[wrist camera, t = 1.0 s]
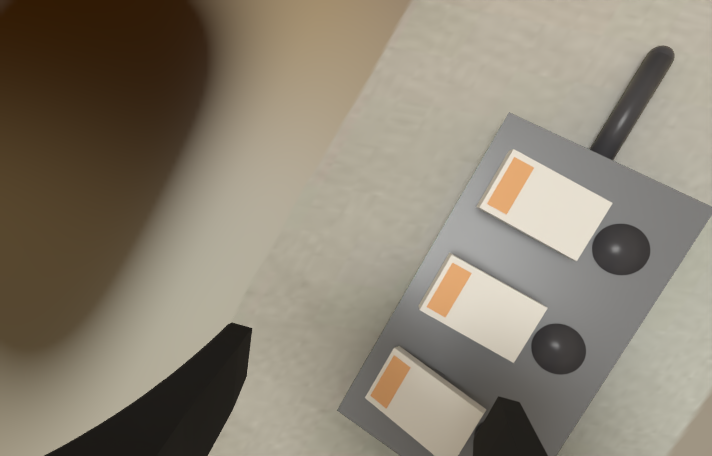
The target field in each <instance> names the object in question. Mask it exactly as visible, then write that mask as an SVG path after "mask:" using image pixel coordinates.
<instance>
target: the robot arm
mask: <svg viewBox="0 0 712 456" xmlns="http://www.w3.org/2000/svg"><path fill="white" fill-rule="evenodd" d="M251 334H252V328H249V327H246V326H242V325H239V324H235V323H230V324H228V325H227V326H226V327H225V328H224V329H223V330H222V331H221V332H220V333H219V334H218V335H217V336H215V338H213V339H212V340H211V341H210V342H209V343H208V344H207V345H206V346H204V347H203V348H202V349H201V350H200V351H199V352H198V353H196V354H195V355H194V356H193V357H192V358H191V359H189V360H188V361H187V362H186V363H185V364H183V365H182V366H181V367H180V368H179V369H177V370H176V371H175V372H174V373H172V374H171V375H170V376H169V377H167V378H166V379H165V380H163V381H162V382H161V383H159V384H158V385H157V386H155V387H154V388H153V389H151V390H150V391H149V392H147V393H146V394H145V395H143V396H142V397H140V398H139V399H138V400H136V401H135V402H133V403H132V404H130V405H129V406H127V407H126V408H124V409H123V410H121V411H120V412H118V413H117V414H116V415H114V416H112V417H111V418H109V419H107V420H106V421H104V422H103V423H101V424H99V425H98V426H96V427H94V428H93V429H91V430H89V431H88V432H86V433H84V434H83V435H81V436H79V437H78V438H76V439H74V440H72V441H71V442H69V443H67V444H65V445H63V446H62V447H60V448H58V449H56V450H54V451H52V452H50V453H49V454H46V455H45V456H208V454H209V452H210V450H211V449H212V447H213V445H214V443H215V441H216V439H217V438H218V436H219V434H220V432H221V430H222V429H223V427H224V425H225V423H226V421H227V419H228V417H229V416H230V414H231V412H232V410H233V408H234V405H235V403H236V401H237V398H238V396H239V394H240V391H241V389H242V386H243V384H244V381H245V379H246V377H247V368H248V359H249V351H250V342H251ZM473 456H548V455H547V453H546V451H545V449H544V447H543V445H542V443H541V442H540V440H539V438H538V436H537V434H536V432H535V430H534V428H533V426H532V424H531V422H530V421H529V419H528V417H527V415H526V413H525V411H524V409H523V407H522V405H521V404H520V402H518V401H514V400H510V399H507V398H503V397H499V396H498V398H497V399H496V401H495V403H494V405H493V406H492V408H491V410H490V412H489V413H488V415H487V417H486V419H485V420H484V422H483V424H482V426H481V428H480V429H479V431H478V433H477V435H476V436H475V438H474V440H473Z"/></svg>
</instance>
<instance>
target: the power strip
mask: <svg viewBox="0 0 712 456" xmlns="http://www.w3.org/2000/svg"><path fill="white" fill-rule="evenodd" d="M673 61H674V51H673V50H672V49H671V48H670V47H668V46H658V47H655V48H653V49H652V50H651V51H650V52H649V53H648V54H647V56H646V57H645V59H644V61H643V62H642V64H641V66H640V67H639V69H638V71H637V72H636V74H635V76H634V77H633V79H632V81H631V82H630V84H629V86H628V87H627V89H626V91H625V92H624V94H623V96H622V97H621V99H620V101H619V102H618V104H617V105H616V107H615V109H614V110H613V112H612V114H611V115H610V117H609V119H608V120H607V122H606V124H605V125H604V127H603V129H602V130H601V132H600V134H599V135H598V137H597V139H596V140H595V142H594V144H593V145H592V147H591V149H590V150H589V149H587V148H585V147H583V146H581V145H578V144H576V143H574V142H572V141H570V140H568V139H565V138H563V137H561V136H559V135H557V134H555V133H553V132H550V131H548V130H546V129H544V128H542V127H540V126H538V125H535V124H533V123H531V122H529V121H527V120H525V119H523V118H520V117H518V116H516V115H514V114H512V113H510V112H509V113H508V115H507V117H506V119H505V120H504V122H503V124H502V125H501V127H500V129H499V131H498V132H497V134H496V136H495V138H494V139H493V141H492V143H491V145H490V146H489V148H488V150H487V151H486V153H485V155H484V157H483V158H482V160H481V162H480V164H479V165H478V167H477V169H476V170H475V172H474V174H473V176H472V177H471V179H470V181H469V183H468V184H467V186H466V188H465V190H464V191H463V193H462V195H461V196H460V198H459V200H458V202H457V203H456V205H455V207H454V209H453V210H452V212H451V214H450V216H449V217H448V219H447V221H446V222H445V224H444V226H443V228H442V229H441V231H440V233H439V235H438V236H437V238H436V240H435V241H434V243H433V245H432V247H431V248H430V250H429V252H428V254H427V255H426V257H425V259H424V261H423V262H422V264H421V266H420V267H419V269H418V271H417V273H416V274H415V276H414V278H413V280H412V281H411V283H410V285H409V287H408V288H407V290H406V292H405V293H404V295H403V297H402V299H401V300H400V302H399V304H398V306H397V307H396V309H395V311H394V312H393V314H392V316H391V318H390V319H389V321H388V323H387V325H386V326H385V328H384V330H383V332H382V333H381V335H380V337H379V338H378V340H377V342H376V344H375V345H374V347H373V349H372V351H371V352H370V354H369V356H368V358H367V359H366V361H365V363H364V364H363V366H362V368H361V370H360V371H359V373H358V375H357V377H356V378H355V380H354V382H353V383H352V385H351V387H350V389H349V390H348V392H347V394H346V396H345V397H344V399H343V401H342V403H341V404H340V406H339V408H338V409H337V411H338V412H340V413H341V414H343V415H344V416H345V417H347V418H348V419H350V420H351V421H352V422H354V423H355V424H357V425H358V426H359V427H361V428H362V429H364V430H365V431H366V432H368V433H369V434H371V435H372V436H373V437H375V438H376V439H378V440H379V441H380V442H382V443H383V444H385V445H386V446H387V447H389V448H390V449H392V450H393V451H394V452H396V453H397V454H399V455H400V456H434V455H433V454H432V453H431V452H430V451H428V450H427V449H426V448H425V447H424V446H422V445H421V444H420V443H419V442H418V441H416V440H415V439H414V438H413V437H412V436H410V435H409V434H408V433H407V432H406V431H404V430H403V429H402V428H401V427H399V426H398V425H397V424H396V423H395V422H393V421H392V420H391V419H390V418H389V417H387V416H386V415H385V414H384V413H383V412H381V411H380V410H379V409H378V408H377V407H375V406H374V405H373V404H372V403H371V402H369V401H368V400H367V399H366V398H365V397H366V395H367V393H368V392H369V390H370V388H371V386H372V385H373V383H374V381H375V380H376V378H377V376H378V374H379V373H380V371H381V369H382V368H383V366H384V364H385V362H386V361H387V359H388V357H389V356H390V354H391V352H392V350H393V349H394V348H395V347H398V346H400V347H401V348H403V349H404V350H406V351H407V352H408V353H410V354H411V355H412V356H414V357H415V358H417V359H418V360H419V361H421V362H422V363H423V364H425V365H426V366H427V367H429V368H430V369H432V370H433V371H434V372H436V373H437V374H438V375H440V376H441V377H443V378H444V379H445V380H447V381H448V382H449V383H451V384H452V385H453V386H455V387H456V388H458V389H459V390H460V391H462V392H463V393H464V394H466V395H467V396H469V397H470V398H471V399H473V400H474V401H475V402H477V403H478V404H479V405H481V406H482V407H484V408H485V409H486V411H485V413H484V414H483V416H482V418H481V419H480V421H479V422H478V424H477V426H476V427H475V429H474V430H473V432H472V434H471V435H470V437H469V439H468V440H467V442H466V443H465V445H464V447H463V448H462V450H461V451H460V453H459V455H458V456H473V440H474V438H475V436H476V435H477V433H478V431H479V429H480V428H481V426H482V424H483V422H484V420H485V419H486V417H487V415H488V413H489V412H490V410H491V408H492V406H493V405H494V403H495V401H496V399H497V398H498V396H499V397H503V398H507V399H510V400H514V401H518V402H520V404H521V405H522V407H523V409H524V411H525V413H526V415H527V417H528V419H529V421H530V422H531V424H532V426H533V428H534V430H535V432H536V434H537V436H538V438H539V440H540V442H541V443H542V445H543V447H544V449H545V451H546V453H547V455H548V456H556V455H557V454H558V452H559V450H560V449H561V447H562V446H563V444H564V443H565V441H566V440H567V438H568V436H569V435H570V433H571V432H572V430H573V429H574V427H575V426H576V424H577V423H578V421H579V419H580V418H581V416H582V415H583V413H584V412H585V410H586V409H587V407H588V406H589V404H590V402H591V401H592V399H593V398H594V396H595V395H596V393H597V392H598V390H599V389H600V387H601V385H602V384H603V382H604V381H605V379H606V378H607V376H608V375H609V373H610V371H611V370H612V368H613V367H614V365H615V364H616V362H617V361H618V359H619V358H620V356H621V354H622V353H623V351H624V350H625V348H626V347H627V345H628V344H629V342H630V341H631V339H632V337H633V336H634V334H635V333H636V331H637V330H638V328H639V327H640V325H641V324H642V322H643V320H644V319H645V317H646V316H647V314H648V313H649V311H650V310H651V308H652V307H653V305H654V303H655V302H656V300H657V299H658V297H659V296H660V294H661V293H662V291H663V289H664V288H665V286H666V285H667V283H668V282H669V280H670V279H671V277H672V276H673V274H674V272H675V271H676V269H677V268H678V266H679V265H680V263H681V262H682V260H683V259H684V257H685V255H686V254H687V252H688V251H689V249H690V248H691V246H692V245H693V243H694V242H695V240H696V238H697V237H698V235H699V234H700V232H701V231H702V229H703V228H704V226H705V224H706V223H707V221H708V220H709V218H710V217H711V215H712V207H711V206H709V205H707V204H705V203H703V202H701V201H699V200H696V199H694V198H692V197H690V196H688V195H686V194H684V193H681V192H679V191H677V190H675V189H673V188H671V187H669V186H666V185H664V184H662V183H660V182H658V181H656V180H653V179H651V178H649V177H647V176H645V175H643V174H641V173H638V172H636V171H634V170H632V169H630V168H628V167H626V166H623V165H621V164H619V163H617V162H615V161H613V159H614V157H615V156H616V154H617V153H618V151H619V149H620V148H621V146H622V144H623V143H624V141H625V139H626V138H627V136H628V135H629V133H630V131H631V130H632V128H633V126H634V125H635V123H636V121H637V120H638V118H639V117H640V115H641V113H642V112H643V110H644V108H645V107H646V105H647V103H648V102H649V100H650V99H651V97H652V95H653V94H654V92H655V90H656V89H657V87H658V85H659V84H660V82H661V81H662V79H663V77H664V76H665V74H666V72H667V71H668V69H669V67H670V66H671V64H672V63H673ZM512 149H515V150H516V151H518V152H520V153H522V154H524V155H526V156H527V157H529V158H531V159H533V160H535V161H537V162H538V163H540V164H542V165H544V166H546V167H548V168H549V169H551V170H553V171H555V172H557V173H559V174H560V175H562V176H564V177H566V178H568V179H570V180H571V181H573V182H575V183H577V184H579V185H581V186H582V187H584V188H586V189H588V190H590V191H591V192H593V193H595V194H597V195H599V196H601V197H602V198H604V199H606V200H608V201H610V202H612V205H611V207H610V208H609V210H608V212H607V213H606V215H605V216H604V218H603V220H602V221H601V223H600V224H599V226H598V228H597V229H596V231H595V233H594V234H593V236H592V237H591V239H590V241H589V242H588V244H587V246H586V247H585V249H584V250H583V252H582V254H581V255H580V257H579V258H578V260H577V261H575V260H572V259H569V258H567V257H566V256H564V255H562V254H560V253H558V252H557V251H555V250H553V249H551V248H549V247H548V246H546V245H544V244H542V243H540V242H538V241H537V240H535V239H533V238H531V237H529V236H528V235H526V234H524V233H522V232H520V231H519V230H517V229H515V228H513V227H511V226H510V225H508V224H506V223H504V222H502V221H500V220H499V219H497V218H495V217H493V216H491V215H490V214H488V213H486V212H484V211H482V210H481V209H479V208H477V207H476V206H477V204H478V203H479V201H480V199H481V198H482V196H483V194H484V192H485V191H486V189H487V187H488V186H489V184H490V182H491V180H492V179H493V177H494V175H495V174H496V172H497V170H498V168H499V167H500V165H501V163H502V162H503V160H504V158H505V156H506V155H507V153H508V151H510V150H512ZM449 253H451V254H453V255H455V256H457V257H458V258H460V259H462V260H464V261H466V262H467V263H469V264H471V265H473V266H475V267H476V268H478V269H480V270H482V271H484V272H485V273H487V274H489V275H491V276H493V277H494V278H496V279H498V280H500V281H501V282H503V283H505V284H507V285H509V286H510V287H512V288H514V289H516V290H518V291H519V292H521V293H523V294H525V295H527V296H528V297H530V298H532V299H534V300H536V301H537V302H539V303H541V304H543V305H544V306H545V307H547V308H548V309H547V310H546V312H545V313H544V315H543V317H542V318H541V320H540V321H539V323H538V325H537V326H536V328H535V330H534V331H533V333H532V334H531V336H530V338H529V339H528V341H527V342H526V344H525V346H524V347H523V349H522V351H521V352H520V354H519V355H518V357H517V359H516V360H515V362H514V363H513V362H511V361H509V360H507V359H506V358H504V357H502V356H500V355H499V354H497V353H495V352H493V351H491V350H490V349H488V348H486V347H484V346H483V345H481V344H479V343H477V342H475V341H474V340H472V339H470V338H468V337H467V336H465V335H463V334H461V333H459V332H458V331H456V330H454V329H452V328H451V327H449V326H447V325H445V324H443V323H442V322H440V321H438V320H436V319H435V318H433V317H431V316H429V315H427V314H426V313H424V312H422V311H420V310H419V304H420V302H421V300H422V299H423V297H424V295H425V294H426V292H427V290H428V288H429V287H430V285H431V283H432V282H433V280H434V278H435V276H436V275H437V273H438V271H439V270H440V268H441V266H442V264H443V263H444V261H445V259H446V258H447V256H448V254H449Z"/></svg>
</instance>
